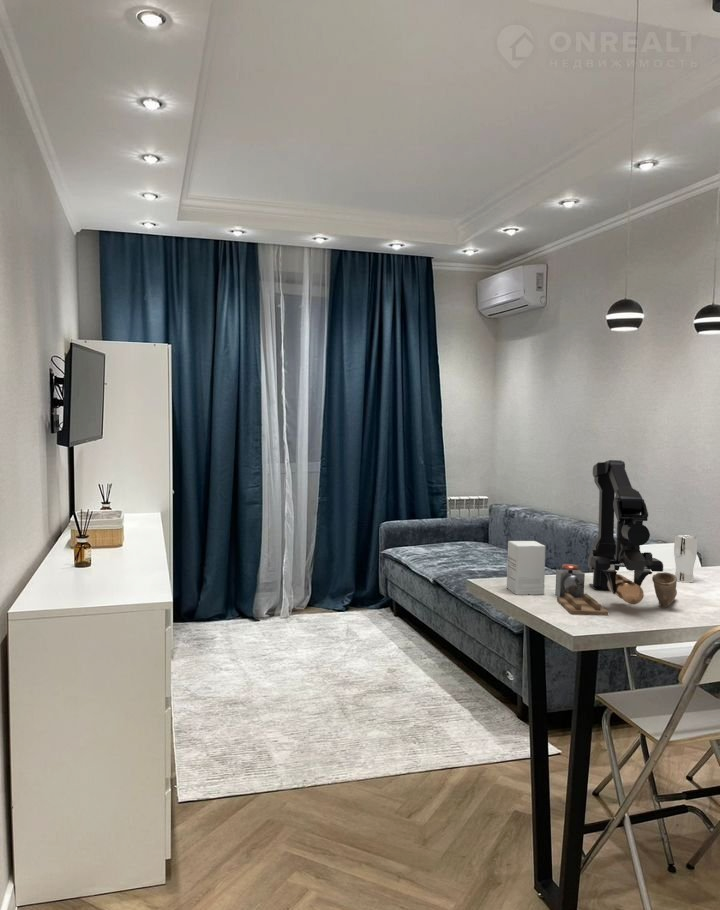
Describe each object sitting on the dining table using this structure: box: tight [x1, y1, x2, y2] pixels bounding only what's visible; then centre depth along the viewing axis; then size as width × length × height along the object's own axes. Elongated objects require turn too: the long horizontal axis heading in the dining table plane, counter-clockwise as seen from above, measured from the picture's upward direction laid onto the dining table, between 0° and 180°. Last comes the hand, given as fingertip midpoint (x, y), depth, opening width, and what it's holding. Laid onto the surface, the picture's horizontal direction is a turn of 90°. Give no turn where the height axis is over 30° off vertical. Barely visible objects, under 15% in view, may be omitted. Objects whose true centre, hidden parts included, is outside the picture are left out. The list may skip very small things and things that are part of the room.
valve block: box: [554, 563, 586, 598], centre depth 206 cm, size 7×7×9 cm
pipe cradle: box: [556, 593, 609, 616], centre depth 195 cm, size 14×10×3 cm
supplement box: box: [506, 540, 546, 596], centre depth 212 cm, size 9×9×15 cm
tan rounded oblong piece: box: [608, 573, 645, 605], centre depth 195 cm, size 12×6×6 cm, turn 0°
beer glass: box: [673, 534, 698, 584], centre depth 233 cm, size 7×7×15 cm
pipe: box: [651, 571, 678, 609], centre depth 201 cm, size 6×17×10 cm, turn 146°
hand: (624, 594), depth 195 cm, fingers closed on tan rounded oblong piece, 6 cm apart
